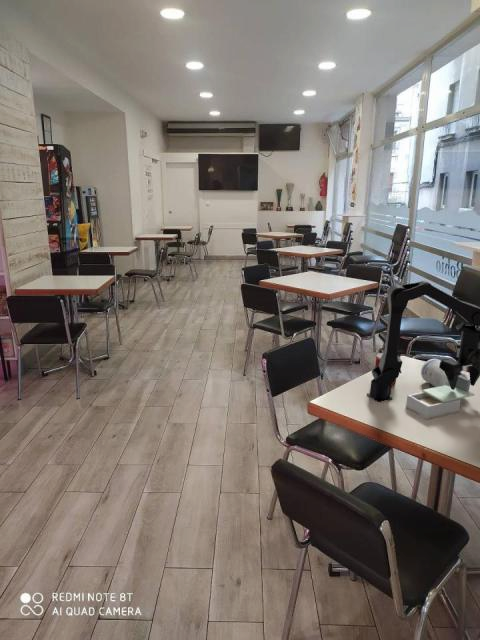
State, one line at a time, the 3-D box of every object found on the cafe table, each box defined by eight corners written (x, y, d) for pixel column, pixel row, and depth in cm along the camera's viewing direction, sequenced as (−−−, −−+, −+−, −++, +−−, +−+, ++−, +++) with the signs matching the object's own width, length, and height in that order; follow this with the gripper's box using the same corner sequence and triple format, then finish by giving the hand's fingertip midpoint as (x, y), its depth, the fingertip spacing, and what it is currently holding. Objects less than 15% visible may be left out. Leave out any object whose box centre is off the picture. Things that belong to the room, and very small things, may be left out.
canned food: (392, 389, 161) (396, 361, 158) (370, 384, 165) (373, 357, 162) (397, 382, 167) (400, 355, 164) (376, 377, 171) (379, 351, 169)
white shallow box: (426, 419, 139) (428, 406, 138) (405, 407, 147) (407, 395, 146) (458, 412, 145) (460, 399, 144) (436, 400, 153) (438, 388, 151)
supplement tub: (445, 372, 170) (472, 388, 156) (424, 385, 169) (450, 402, 156) (437, 353, 166) (464, 367, 153) (416, 366, 166) (441, 382, 152)
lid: (443, 402, 141) (445, 389, 139) (422, 391, 148) (424, 378, 147) (474, 395, 146) (476, 382, 145) (452, 385, 154) (454, 373, 152)
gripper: (470, 354, 134) (462, 401, 139) (512, 347, 142) (503, 392, 146) (441, 344, 144) (434, 387, 148) (481, 338, 152) (474, 380, 156)
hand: (462, 387), depth 149 cm, fingers open, 9 cm apart
